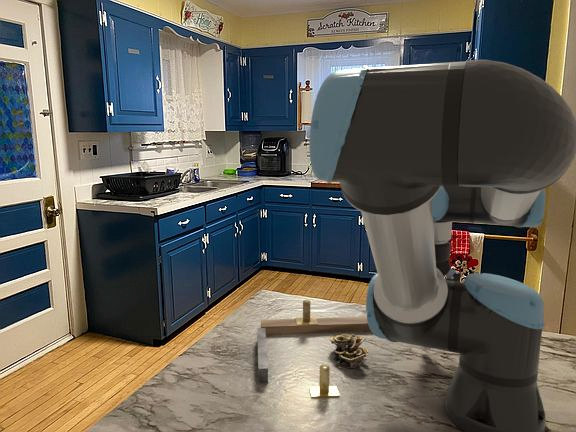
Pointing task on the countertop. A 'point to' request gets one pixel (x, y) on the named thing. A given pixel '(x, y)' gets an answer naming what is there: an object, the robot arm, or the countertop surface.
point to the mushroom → (349, 350)
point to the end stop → (262, 356)
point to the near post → (324, 385)
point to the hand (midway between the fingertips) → (425, 346)
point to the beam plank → (314, 324)
